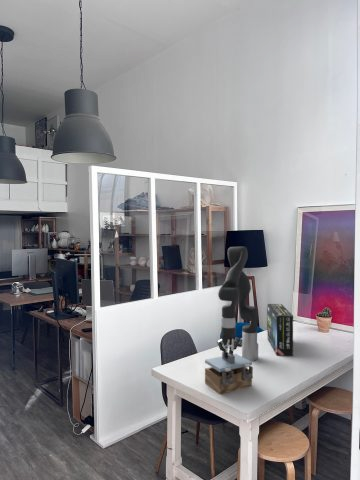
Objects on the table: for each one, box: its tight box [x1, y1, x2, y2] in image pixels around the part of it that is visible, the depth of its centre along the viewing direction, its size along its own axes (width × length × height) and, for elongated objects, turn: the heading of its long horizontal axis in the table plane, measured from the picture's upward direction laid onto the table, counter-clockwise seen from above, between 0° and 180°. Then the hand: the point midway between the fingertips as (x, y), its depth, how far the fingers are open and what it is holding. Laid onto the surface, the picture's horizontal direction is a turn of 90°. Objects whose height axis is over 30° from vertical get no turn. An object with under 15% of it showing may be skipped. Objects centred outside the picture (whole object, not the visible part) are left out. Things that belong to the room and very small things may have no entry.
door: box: [204, 351, 253, 372], centre depth 189 cm, size 20×16×5 cm
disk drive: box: [237, 338, 242, 348], centre depth 259 cm, size 10×3×15 cm
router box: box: [266, 303, 294, 357], centre depth 249 cm, size 36×11×27 cm, turn 177°
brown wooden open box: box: [204, 365, 254, 395], centre depth 189 cm, size 20×16×11 cm
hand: (228, 358), depth 189 cm, fingers closed on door, 2 cm apart
